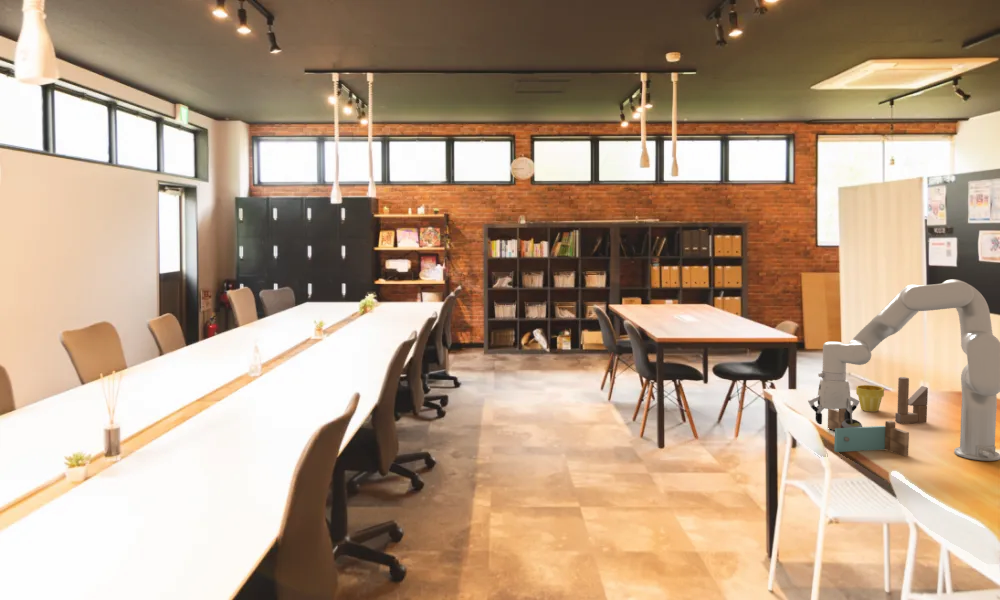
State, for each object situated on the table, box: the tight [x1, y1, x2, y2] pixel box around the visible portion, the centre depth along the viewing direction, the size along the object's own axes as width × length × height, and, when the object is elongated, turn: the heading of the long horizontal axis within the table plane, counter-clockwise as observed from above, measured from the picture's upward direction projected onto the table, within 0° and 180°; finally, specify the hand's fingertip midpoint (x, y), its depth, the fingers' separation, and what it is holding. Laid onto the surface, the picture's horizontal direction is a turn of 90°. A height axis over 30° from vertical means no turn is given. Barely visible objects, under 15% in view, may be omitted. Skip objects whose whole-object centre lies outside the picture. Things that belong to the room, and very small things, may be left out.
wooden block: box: [894, 376, 929, 424], centre depth 271 cm, size 4×11×18 cm, turn 93°
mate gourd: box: [840, 398, 863, 428], centre depth 240 cm, size 8×8×15 cm
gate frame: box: [827, 409, 910, 457], centre depth 247 cm, size 36×2×10 cm, turn 15°
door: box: [833, 425, 885, 453], centre depth 236 cm, size 18×2×8 cm, turn 97°
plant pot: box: [855, 384, 885, 413], centre depth 292 cm, size 10×10×10 cm
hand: (833, 423), depth 246 cm, fingers open, 9 cm apart
